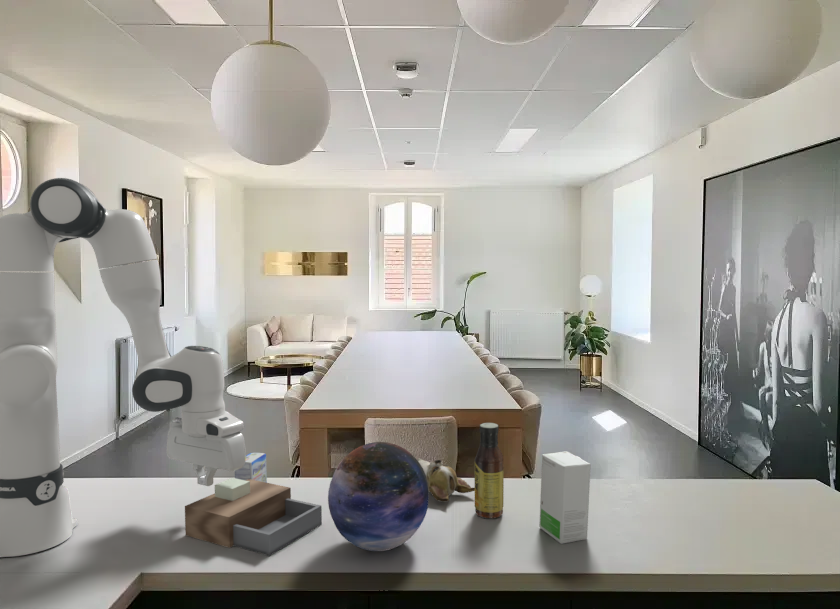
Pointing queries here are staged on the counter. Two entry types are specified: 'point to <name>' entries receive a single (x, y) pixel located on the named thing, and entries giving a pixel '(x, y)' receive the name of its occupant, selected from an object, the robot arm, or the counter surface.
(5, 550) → the robot arm
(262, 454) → the medicine box
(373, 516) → the decorative sphere
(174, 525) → the counter surface
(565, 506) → the skincare box
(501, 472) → the sauce bottle
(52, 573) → the counter surface
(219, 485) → the tile
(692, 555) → the counter surface
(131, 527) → the counter surface
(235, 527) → the bin
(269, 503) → the wooden drawer casing
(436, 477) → the ceramic sculpture
